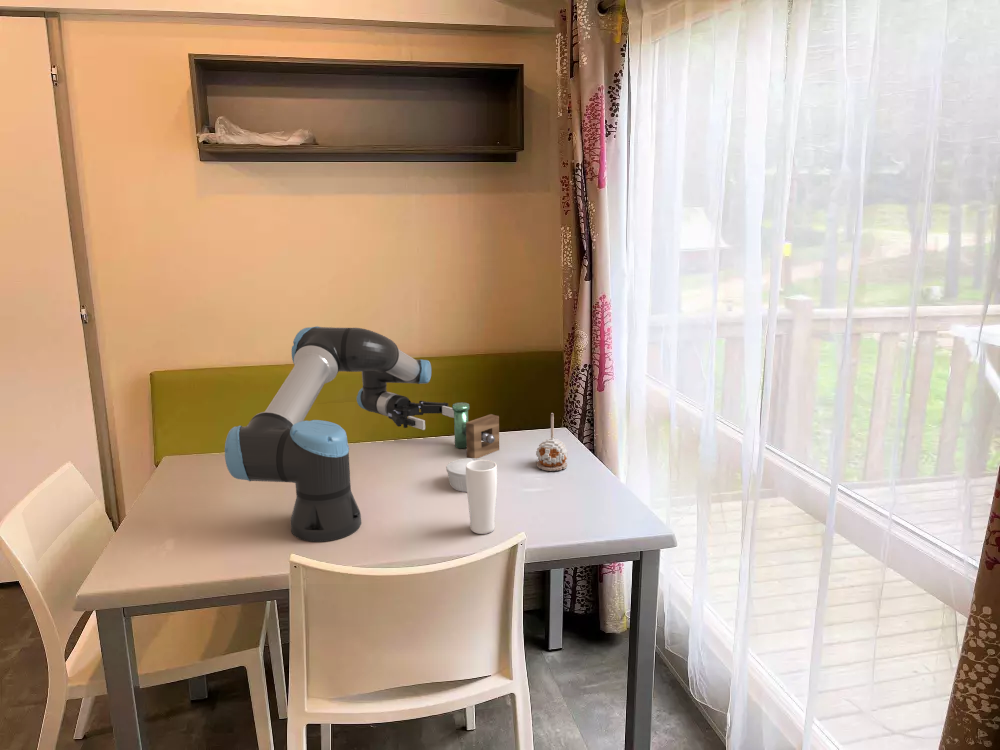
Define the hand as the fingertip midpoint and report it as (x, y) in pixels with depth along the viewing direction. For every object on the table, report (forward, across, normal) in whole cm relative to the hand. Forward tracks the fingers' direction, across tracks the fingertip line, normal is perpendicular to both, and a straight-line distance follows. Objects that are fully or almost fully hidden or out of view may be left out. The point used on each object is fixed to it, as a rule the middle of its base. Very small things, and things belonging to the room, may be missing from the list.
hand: (441, 419), depth 215 cm
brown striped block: (+17, 0, -6) cm, 18 cm away
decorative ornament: (+38, -4, -7) cm, 39 cm away
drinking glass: (+50, +35, -6) cm, 61 cm away
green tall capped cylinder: (+14, 0, -6) cm, 15 cm away
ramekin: (+30, +19, -7) cm, 36 cm away
